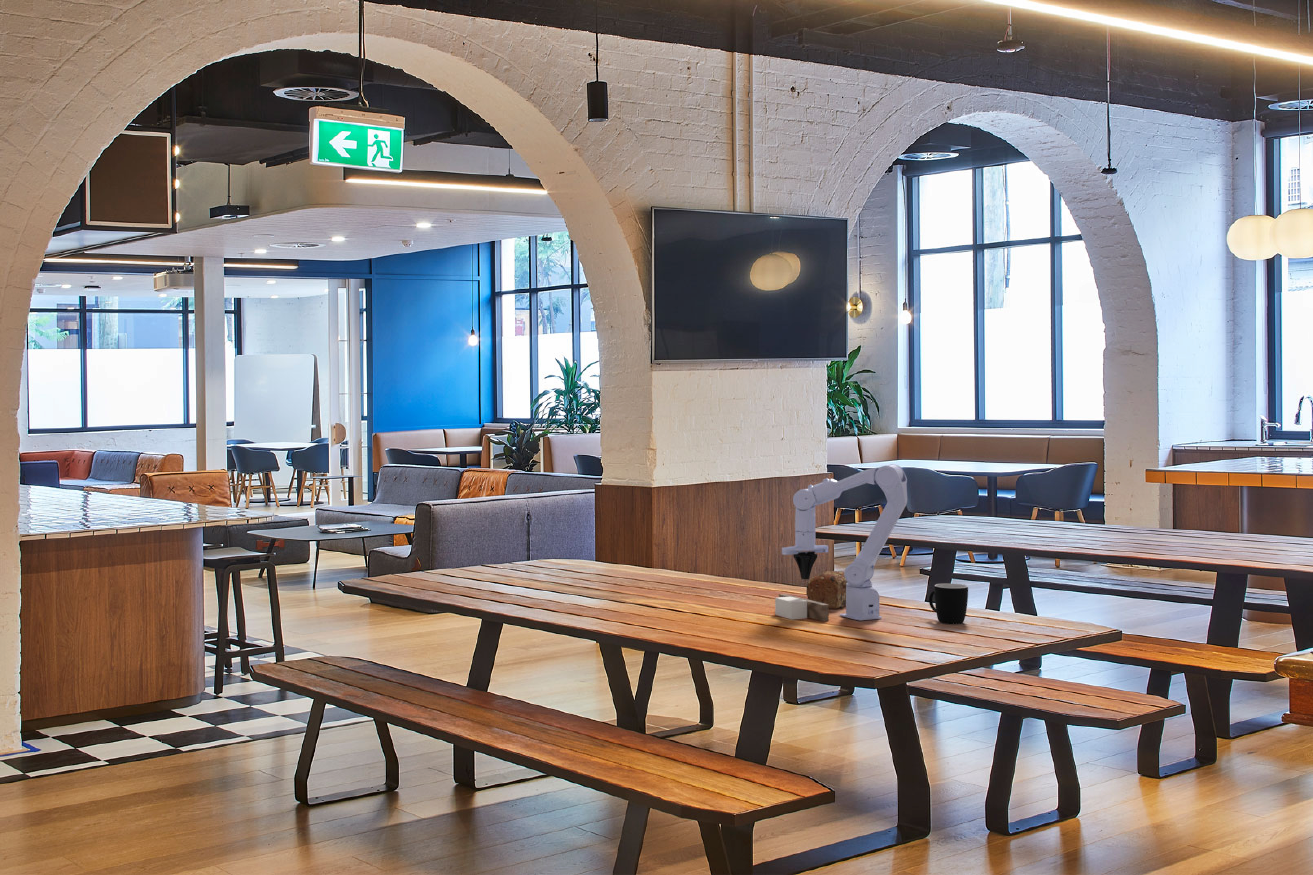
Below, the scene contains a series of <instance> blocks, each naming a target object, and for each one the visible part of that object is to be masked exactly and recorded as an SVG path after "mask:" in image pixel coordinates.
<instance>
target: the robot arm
mask: <svg viewBox="0 0 1313 875" xmlns="http://www.w3.org/2000/svg"><path fill="white" fill-rule="evenodd" d="M907 483H908V478H907V476H906V473H905V471H904V469H903V468H902V467H901V466H900V465H898V464H895V463H894V464H893V463H892V464H891V463H890V464H888V465H881V466H879V467H873V468H867V469H866V470H861V471H860V472H858V473H855V474H853V475H850V476H848V477H845V478H842V479H840V480H836V479H834V478H830V479H829V478H823V479H822V482H819V483H817V484H814V485H812V484H809V485H807V488H800V489H799V490H798V491H796V492H795V493H794V494H793V497H792V501H793V503H792V504H793V505H794V507H795V516H794V517H795V519H794V525H795V527H794V531H795V532H794V536H795V537H794V541H795V542H794V546H787V547H786V546H785V547H781V555H785V556H789V555H793V559H794V560H795V562H796V565H797V567H798V570H799V573H800V578H801V580H810V576H811V573H812V569H813V566H814V564H815V562H816V560H817V558H818V554H820V553H826V554H827V553H829V545H826V544H821V545H820V544H819V545H818V544H817V545H816V507H817V506H819V505H820V506H821V505H823V504H826V503H829V502H832V501H833V500H836V499H839V498H840V496H841V495H842V493H843V492H844V491H847V490H850V489H854V488H856V487H859V486H862V485H865V484H870V485H878V486H879V487H880V489H881V491H882V492H883V493H884V495H885V496H884V497H885V498H886V501H887V502H886V504H885V506H884V508H883V510H882V512H881V513H880V516H879V517H878V519H877V521H876V523H875V524H874V527H873V528H872V530H871V532H870V534H869V535H868V537H867V538H866V541H865V542H864V544H863V546H862V548H861V550H860V552H858V554H857V555H856V557H855V558H854V560H853V561H852V562H851V563H850V564H848V565H847V566H846V568H845V569H844V571H843V572H844V576H845V579H846V581H847V582H848V583H846V606H845V613H839V616H840V617H842V618H848V619H851V620H854V621H855V620H856V621H868V620H870V621H871V620H879V619H883V616H880V594H879V591H878V590H876V589H874V588H873V583H872V581H871V579H872V578H873V577H874V575H875V574H874V573H875V571H874V570H875V565H876V564H877V560H878V558H879V555H880V553H881V551H882V550H883V548H884V546H885V544H886V542H887V541H888V539H889V537H890V536H891V534H892V531H893V530H894V528H895V526H896V524H897V522H898V520H899V519H900V517H901V515H902V513H903V512H904V510H905V508H906V506H907V504H908V490H907V489H908V488H907ZM817 553H818V554H817Z"/></svg>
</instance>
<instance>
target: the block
mask: <svg viewBox="0 0 1313 875" xmlns="http://www.w3.org/2000/svg"><path fill="white" fill-rule="evenodd" d="M774 607H775V608H774V615H776V616H778V617H782V618H785V619H788V620H801V619H803V620H804V619H808V617H807V601H805V600H802V599H798V598H794V597H779V596H778V597H777V596H776V597H775V598H774Z"/></svg>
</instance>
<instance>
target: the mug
mask: <svg viewBox="0 0 1313 875" xmlns="http://www.w3.org/2000/svg"><path fill="white" fill-rule="evenodd" d="M933 597H934V603H933ZM968 599H969V586H968V585H966V584H961V583H936V584H934V590H933V591H931V593H930V594H929V599H928V604H929V607H930V608H931V610H932V611H933V612H934V613H936V618H937V621H938V622H939V623H940V624H943V625H961V624H963V623H964V621H965V619H966V616H967V608H968Z"/></svg>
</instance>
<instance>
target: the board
mask: <svg viewBox="0 0 1313 875" xmlns="http://www.w3.org/2000/svg"><path fill="white" fill-rule="evenodd" d="M778 597H794V598H798V599H802V600H805V601H807V619H808V618H809V619H812V620H816V621H820V622H829V620H830V619H829V618H830V617H829V616H830V615H829V613H830V612H829V610H830V609H829V604H824V603H820V602H816V601H812V600H808V599H807V598H803V597H799V596H795V595H791V594H787V593H779V594H778Z"/></svg>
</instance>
